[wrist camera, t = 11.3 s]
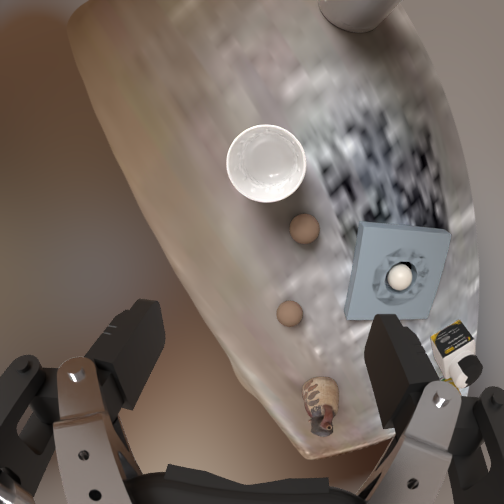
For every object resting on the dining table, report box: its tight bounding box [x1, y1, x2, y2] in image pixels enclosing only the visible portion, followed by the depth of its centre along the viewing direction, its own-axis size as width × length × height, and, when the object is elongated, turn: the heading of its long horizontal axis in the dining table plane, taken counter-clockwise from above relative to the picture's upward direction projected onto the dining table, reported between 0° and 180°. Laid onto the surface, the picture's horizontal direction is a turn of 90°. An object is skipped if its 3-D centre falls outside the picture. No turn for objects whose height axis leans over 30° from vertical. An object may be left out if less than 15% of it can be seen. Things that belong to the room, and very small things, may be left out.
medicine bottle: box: [430, 320, 483, 388], centre depth 39 cm, size 7×7×12 cm
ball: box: [387, 264, 412, 290], centre depth 39 cm, size 4×4×4 cm
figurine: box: [302, 377, 339, 437], centre depth 46 cm, size 7×7×12 cm
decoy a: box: [290, 214, 320, 244], centre depth 38 cm, size 4×4×4 cm
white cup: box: [227, 125, 306, 203], centre depth 32 cm, size 8×8×10 cm
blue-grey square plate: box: [344, 221, 452, 320], centre depth 40 cm, size 15×15×2 cm
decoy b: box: [277, 301, 303, 327], centre depth 43 cm, size 4×4×4 cm
